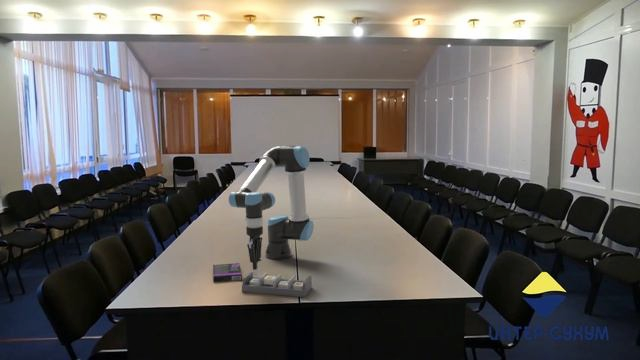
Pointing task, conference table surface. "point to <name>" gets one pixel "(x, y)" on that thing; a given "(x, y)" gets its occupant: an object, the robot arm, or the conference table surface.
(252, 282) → the key
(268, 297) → the conference table surface
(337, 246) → the conference table surface
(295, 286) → the key
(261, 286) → the keypad
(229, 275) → the box
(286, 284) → the key
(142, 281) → the conference table surface
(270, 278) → the key
